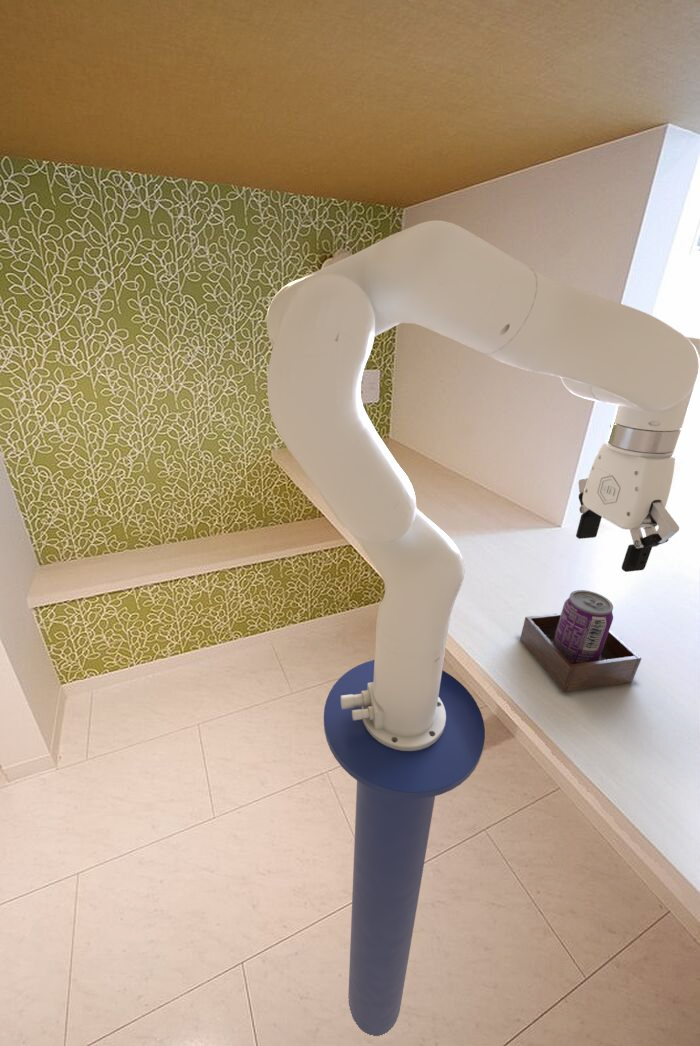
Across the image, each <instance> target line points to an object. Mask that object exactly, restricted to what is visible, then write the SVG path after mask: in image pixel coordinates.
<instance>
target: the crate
mask: <svg viewBox="0 0 700 1046" xmlns="http://www.w3.org/2000/svg"><path fill="white" fill-rule="evenodd" d="M561 613H562V612H558V613H549V614H548V613H547V614H539V615H528V616H525V617H524V621H523V625H522V630H521V634H520V638H519V639H520V641H521V642H522V644H523V645H524V646H525V647H526V648H527V650H528V652H530V653H531V655H532V656H533V658H534V659H535V660H536V661H537V662H538V663H539V665H540V666H541V667H542V669H543V670H544V671H545V672H546V673H547V675H548V677H549V678H550V679H551V680H552V681H553V682H554V684H555V685H556V686H557V687H558V688H559V690H560V691H561V692H562V693H568V692H574V691H580V690H581V691H582V690H589V689H595V688H602V687H609V686H615V685H623V684H628V683H633V681H634V679H635V676H636V674H637V671H638V670H639V669H638V668H639V666H640V664H641V661H642V657H641V656H640V655H638V653H637V652H635V651H634V650H633V649H632V648H631V647H630V646H629V645H628V644H626V642H624V641H623V640H622V639H621V638H620V637H619V636H618V635H616V634H615V632H613V630H611V629H610V630H609V632H608V635H607V638H606V641H605V644H604V647H603V650H602V653H601V655H600V657H602V658H603V659H601V660H600V659H599V661H593V662H585V663H578V664H572V665H571V663H570V662H569V661H568V660H567V659H566V658H565V657H564V656H563V654H562V653H561V652H560V651H559V650H558V649H557V648H556V647H555V645H554V644H553V642H552V641H551V639H554V637H555V634H556V630H557V627H558V623H559V620H560V616H561Z"/></svg>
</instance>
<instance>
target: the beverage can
mask: <svg viewBox="0 0 700 1046" xmlns="http://www.w3.org/2000/svg"><path fill="white" fill-rule="evenodd" d="M613 609H614V605H613V603H612V601H610V599H609V598H608V597H605V596H604V595H602V594H601V593H600V594H599V593H597V592H594V591H590V590H585V589H578V590H574V591H571V592H570V594H569V596H568V598H567V599H566V600H565V601H564V603H563V606H562V610H561V612H560V613H561V616H560V620H559V623H558V627H557V630H556V634H555V637H554V638H553V642H552V643H553V644H554V645H555V647H556V648H557V649H558V650H559V651H560V652H561V653H562V654H563V656H564V657H565V658H566V659H567V660H568V661H569V662H570V663H571V665H572V664H578V663H585V662H593V661H600V659H601V653H602V650H603V647H604V644H605V641H606V638H607V635H608V632H609V630H611V627H612V624H613V620H614V613H613Z"/></svg>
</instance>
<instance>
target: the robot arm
mask: <svg viewBox="0 0 700 1046" xmlns="http://www.w3.org/2000/svg"><path fill="white" fill-rule="evenodd" d="M400 324H413V325H418V326H421V327H423V328H425V329H428V330H430V331H432V332H435V333H437V334H439V335H441V336H444V337H445V338H447V339H450V340H453V341H455V342H457V343H459V344H462V345H464V346H466V347H469V348H471V349H472V350H474V351H477V352H479V353H481V354H483V355H485V356H487V357H489V358H491V359H493V360H496V361H498V362H500V363H502V364H505V365H508V366H511V367H515V368H518V369H521V370H524V371H528V372H532V373H537V374H542V375H547V376H554V377H558V378H560V380H561V383H562V385H563V386H564V387H565V388H566V389H567V390H568V392H570V393H571V394H573V395H574V396H577V397H580V398H582V399H585V400H589V401H593V402H594V401H595V402H599V403H603V404H610V405H614V406H616V408H615V412H614V416H613V421H612V422H611V423H610V426H609V429H610V431H609V435H608V439H607V440H605V441H603V442H602V445H601V446H600V448H599V450H598V452H597V454H596V456H595V458H594V460H593V463H592V466H591V469H590V470H589V474H588V475H587V476H588V477H586V478H582V479H578V490H579V491H578V493H579V494H578V500H579V504H580V507H579V513H580V514H581V515H580V517H579V523H578V526H577V530H576V534H575V537H576V538H577V539H578V540H581V539H592V538H593V539H594V538H596V537H597V535H598V531H599V528H600V525H601V521H602V518H603V519H605V520H606V521H608V522H609V523H611V524H612V525H615V526H616V527H619V528H620V529H623V530H629V532H630V537H631V539H632V544H629V545H628V547H627V549H626V552H625V555H624V558H623V562H622V564H621V570H623V571H624V572H625V573H628V572H637V571H644V570H645V569H646V565H647V563H648V560H649V558H650V555H651V552H652V549H653V548H656V547H659V545H662V544H666V543H667V542H669V540H670V539H671V538H672V537H673V536H674V535H676V534H677V533H678V532H679V531H680V526H679V525H678V523H677V522H676V521H675V520H674V518H673V517H672V516H671V514H670V513H669V511H668V510H667V509H666V507H667V503H668V500H669V497H670V493H671V487H672V484H673V478H674V471H675V463H676V456H675V455H674V452H675V449H676V447H677V443H678V440H679V437H680V435H681V431H682V428H683V425H684V423H685V420H686V416H687V413H688V411H689V408H690V405H691V402H692V399H693V396H694V393H695V389H696V387H697V385H698V381H699V379H700V337H698V336H697V337H696V336H691V335H690V336H689V335H684V334H683V333H682V332H680V331H678V330H677V329H675V328H674V327H672V326H671V325H669V324H667V322H664V321H662V320H660V319H659V318H657V317H655V316H654V315H651V314H649V313H647V312H644V311H643V310H639V309H637V308H634V307H632V306H628V305H626V304H622V303H619V302H617V301H614V300H611V299H607V298H604V297H601V296H599V295H595V294H593V293H590V292H587V291H585V290H582V289H580V288H577V287H573V286H570V285H566V284H563V283H561V282H557V281H555V280H553V279H551V278H549V277H547V276H546V275H544V274H542V273H540V272H538V271H536V270H535V269H533V268H532V267H530V266H528V265H527V264H525V263H523V262H521V261H520V260H518V259H516V258H515V257H513V256H511V255H510V254H508V253H506V252H504V251H502V250H501V249H499V248H498V247H496V246H494V244H491V243H489V242H488V241H487V240H484V239H483V238H481V237H479V236H478V235H476V234H474V233H473V232H471V231H469V230H467V229H466V228H464V227H462V226H460V225H458V224H455V223H453V222H449V221H445V220H440V219H439V220H437V219H433V220H427V221H424V222H421V223H417V224H415V225H413V226H409V227H408V228H405V229H403V230H400V231H398V232H395V233H393V234H391V235H389V236H386V237H384V238H383V239H380V240H379V241H377V242H375V243H373V244H372V245H370V246H368V247H365V248H364V249H362V250H360V251H358V252H355V253H354V254H351V255H349V256H347V257H345V258H343V259H341V260H338V261H336V262H334V263H332V264H329V265H327V266H325V267H323V268H320V269H318V270H315V271H314V272H312V273H309V274H307V275H304V276H303V277H300V278H297V279H295V280H293V281H291V282H289V283H287V284H285V285H284V286H282V287H281V289H280V290H278V291H277V292H276V293H275V295H274V296H273V298H272V299H271V302H270V304H269V306H268V309H267V314H266V325H265V326H266V333H267V335H268V339H269V342H270V344H271V345H272V349H271V353H270V354H271V355H270V357H269V362H268V367H267V378H266V379H267V383H266V385H267V389H266V390H267V402H268V409H269V413H270V416H271V421H272V422H273V424H274V427H275V429H276V432H277V433H278V435H279V438H280V439H281V440H282V442H283V444H284V445H285V447H286V448H287V450H288V452H289V453H290V454H291V455H292V457H293V458H294V459H295V461H296V462H297V463H298V465H299V466H300V468H301V469H302V470H303V472H304V473H305V474H306V476H307V477H308V479H309V480H310V481H311V483H312V484H313V486H314V487H315V488H316V489H317V490H318V493H319V495H320V496H321V498H322V500H323V501H324V503H325V504H326V506H327V508H328V509H329V510H330V512H331V513H332V515H333V516H334V517H335V518H336V520H337V521H338V522H339V523H340V524H341V526H342V527H344V528H345V529H346V530H347V531H348V532H349V533H350V534H351V535H352V537H353V538H354V539H355V541H357V543H358V545H359V546H360V548H362V549H363V551H364V552H365V554H366V555H367V556H368V558H369V559H370V561H371V562H372V564H373V565H374V567H375V569H376V570H377V571H378V573H379V575H380V576H381V578H382V580H383V585H384V595H383V597H382V599H381V601H380V603H379V605H378V609H377V614H376V621H375V622H376V623H375V643H374V645H375V646H374V660H375V662H374V679H373V682H370V683H368V687H367V690H365V691H361V694H356V695H353V694H350V695H342V696H341V707H342V709H349V708H354V707H359V706H362V710H361V709H358V710H352V718H353V721H354V720H361V719H363V723H364V725H365V727H366V729H367V730H368V732H369V733H370V734H371V735H372V736H373V737H374V738H375V739H376V740H377V741H378V742H380V743H382V744H383V745H385V746H387V747H390V748H393V749H396V750H401V751H416V750H421V749H424V748H427V747H429V746H430V745H432V744H434V743H435V742H436V741H437V740H438V739H439V738H440V736H441V735H442V733H443V731H444V728H445V722H446V711H445V708H444V705H443V703H442V701H441V699H440V698H439V697H438V696H439V689H440V682H441V675H442V670H443V668H444V661H445V654H446V647H447V640H448V632H449V626H450V622H451V621H450V620H451V616H452V611H453V608H454V605H455V602H456V600H457V597H458V595H459V592H460V590H461V588H462V586H463V583H464V579H465V573H466V570H465V569H466V568H465V562H464V558H463V556H462V553H461V551H460V549H459V548H458V546H457V545H456V544H455V542H454V541H453V539H452V538H450V536H449V535H447V533H446V532H444V530H442V529H441V528H440V527H439V526H438V525H437V524H435V522H434V521H432V520H431V519H430V518H428V517H427V516H426V515H425V514H424V513H423V512H422V511H421V510H419V508H417V499H416V498H417V497H416V494H415V493H416V492H415V490H414V488H413V485H412V483H411V480H410V478H409V476H408V475H407V474H406V473H405V471H404V470H403V468H401V466H400V464H399V463H398V462H397V460H396V459H395V457H394V456H393V454H392V453H391V452H390V450H389V448H388V446H387V445H386V444H385V442H384V441H383V439H382V438H381V436H380V434H379V433H378V432H377V430H376V428H375V426H374V424H373V423H372V421H371V419H370V417H369V415H368V414H367V411H366V409H365V407H364V404H363V401H362V395H361V386H362V379H363V374H364V371H365V367H366V365H367V362H368V360H369V357H370V355H371V351H372V349H373V345H374V342H375V338H376V337H377V336H379V335H381V334H382V333H384V332H386V331H389V330H390V329H392V328H394V327H396V326H398V325H400ZM657 526H658V528H657V529H656V527H657ZM642 530H644V533H645V536H643V533H642Z"/></svg>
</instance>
